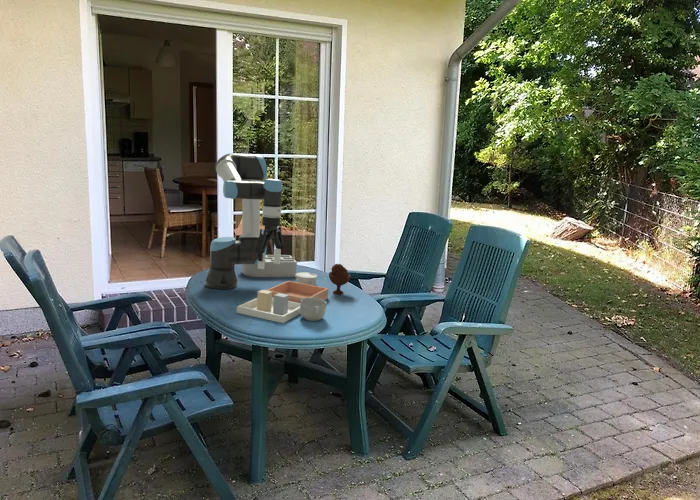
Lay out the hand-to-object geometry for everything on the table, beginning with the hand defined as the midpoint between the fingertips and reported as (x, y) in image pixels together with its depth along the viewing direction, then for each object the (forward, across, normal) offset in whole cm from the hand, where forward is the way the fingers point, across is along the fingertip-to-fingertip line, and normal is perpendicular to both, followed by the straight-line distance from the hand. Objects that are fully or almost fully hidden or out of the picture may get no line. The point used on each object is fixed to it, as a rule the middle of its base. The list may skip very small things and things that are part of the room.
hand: (269, 266), depth 229 cm
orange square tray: (+19, +21, -4) cm, 29 cm away
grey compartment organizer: (+18, +55, +32) cm, 66 cm away
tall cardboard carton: (+19, -1, +1) cm, 19 cm away
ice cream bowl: (+19, +43, -15) cm, 50 cm away
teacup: (+20, 0, -22) cm, 30 cm away
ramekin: (+19, +48, +5) cm, 51 cm away
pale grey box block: (+19, -2, -7) cm, 21 cm away
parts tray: (+19, -1, -3) cm, 20 cm away
